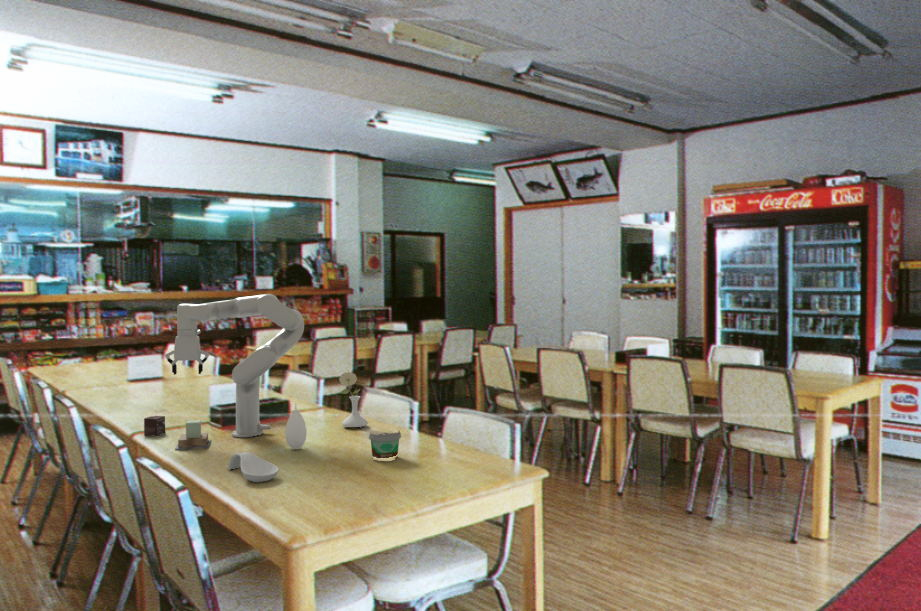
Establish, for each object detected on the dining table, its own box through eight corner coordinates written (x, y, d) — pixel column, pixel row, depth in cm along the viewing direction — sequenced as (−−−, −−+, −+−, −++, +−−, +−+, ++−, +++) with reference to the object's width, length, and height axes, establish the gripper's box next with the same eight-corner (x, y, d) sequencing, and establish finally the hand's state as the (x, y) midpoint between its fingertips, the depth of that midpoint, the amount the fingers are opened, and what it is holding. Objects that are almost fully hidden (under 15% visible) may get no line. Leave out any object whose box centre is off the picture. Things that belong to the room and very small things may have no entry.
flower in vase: (370, 424, 299) (370, 370, 298) (364, 430, 287) (364, 374, 286) (342, 423, 300) (342, 369, 299) (335, 429, 289) (335, 373, 288)
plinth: (211, 440, 267) (210, 432, 267) (208, 448, 255) (208, 439, 255) (179, 442, 263) (179, 433, 263) (175, 450, 252) (175, 441, 252)
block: (201, 434, 262) (201, 419, 262) (199, 437, 258) (199, 422, 257) (187, 435, 261) (187, 420, 261) (186, 438, 256) (185, 423, 256)
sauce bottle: (281, 450, 252) (281, 404, 252) (293, 445, 260) (293, 401, 259) (298, 452, 250) (298, 406, 249) (310, 447, 257) (310, 402, 256)
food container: (374, 464, 235) (374, 436, 235) (368, 460, 240) (368, 433, 240) (406, 460, 241) (406, 433, 240) (399, 456, 246) (400, 429, 246)
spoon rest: (285, 480, 217) (285, 458, 216) (253, 488, 208) (253, 466, 208) (248, 466, 232) (248, 446, 232) (217, 473, 224) (216, 452, 223)
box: (156, 436, 274) (156, 419, 274) (143, 435, 275) (143, 418, 275) (165, 433, 280) (165, 416, 280) (153, 432, 281) (153, 415, 281)
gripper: (210, 332, 279) (210, 372, 279) (166, 332, 274) (166, 373, 275) (208, 333, 272) (208, 374, 272) (163, 334, 267) (163, 375, 268)
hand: (187, 373), depth 274 cm, fingers open, 9 cm apart
